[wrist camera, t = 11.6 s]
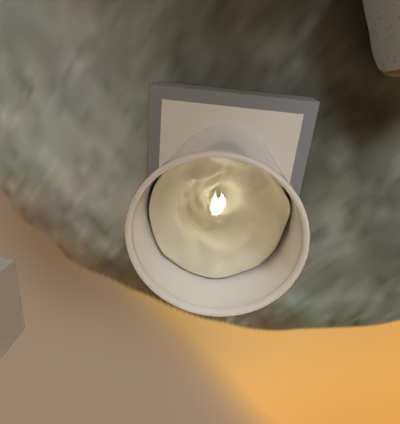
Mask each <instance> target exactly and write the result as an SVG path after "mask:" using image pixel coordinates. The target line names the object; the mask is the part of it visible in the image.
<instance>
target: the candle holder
mask: <svg viewBox="0 0 400 424" xmlns="http://www.w3.org/2000/svg"><path fill="white" fill-rule="evenodd" d="M125 241H126V247H127V251H128V254H129V257H130V260H131V262H132V265H133V267H134V268H135V270H136V272H137V273H138V275H139V276H140V278H141V279H142V280H143V282H144V283H145V284H146V285H147V286H148V287H149V288H150V289H151V290H152V291H153V292H154V293H155V294H156V295H158V296H159V297H160V298H162V299H163V300H165V301H166V302H168V303H170V304H172V305H174V306H176V307H178V308H180V309H182V310H185V311H188V312H191V313H195V314H199V315H205V316H214V317H227V316H236V315H242V314H246V313H249V312H253V311H255V310H258V309H260V308H263V307H265V306H267V305H268V304H270V303H272V302H273V301H275V300H276V299H278V298H279V297H280V296H282V295H283V294H284V293H285V292H286V291H287V290H288V289H289V288H290V287H291V286H292V285H293V283H294V282H295V281H296V279H297V278H298V276H299V275H300V273H301V271H302V269H303V267H304V265H305V262H306V259H307V256H308V251H309V245H310V228H309V222H308V218H307V214H306V211H305V208H304V206H303V204H302V202H301V200H300V198H299V196H298V195H297V193H296V191H295V190H294V189H293V187H292V186H291V185H290V184H289V183H288V181H287V179H286V178H285V176H284V174H283V173H282V171H281V169H280V168H279V166H278V164H277V162H276V161H275V159H274V158H273V156H272V154H271V153H270V151H269V150H268V148H267V147H266V146H265V144H264V143H263V142H262V141H261V140H260V139H259V138H258V137H257V136H255V135H254V134H252V133H251V132H249V131H247V130H245V129H243V128H240V127H236V126H230V125H218V126H212V127H208V128H205V129H203V130H201V131H199V132H197V133H196V134H194V135H193V136H191V137H190V138H189V139H188V140H187V141H185V142H184V143H183V144H182V145H181V146H180V147H179V148H178V149H177V150H176V151H175V152H174V153H173V154H172V155H171V156H170V157H169V158H168V159H167V160H166V161H165V163H164V164H163V165H162V166H161V167H159V168H158V169H157V170H155V171H154V172H153V173H152V174H151V175H150V176H149V177H148V178H147V179H146V180H145V181H144V182H143V183H142V184H141V186H140V187H139V188H138V190H137V191H136V193H135V195H134V197H133V199H132V201H131V203H130V206H129V208H128V212H127V216H126V222H125Z"/></svg>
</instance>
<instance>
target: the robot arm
mask: <svg viewBox="0 0 400 424" xmlns="http://www.w3.org/2000/svg"><path fill="white" fill-rule="evenodd" d="M24 328H25V325H24V318H23V312H22V305H21V298H20V292H19V285H18V279H17V272H16V265H15V260H14V259H7V258H0V359H1V358H2V356H3V355H4V354H5V353H6V351H7V350H8V349H9V347H10V346H11V345H12V343H13V342H14V341H15V340H16V338H17V337H18V336H19V334H20V333H21V332H22V331H23V329H24Z"/></svg>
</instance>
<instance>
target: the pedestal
mask: <svg viewBox="0 0 400 424" xmlns="http://www.w3.org/2000/svg"><path fill="white" fill-rule="evenodd" d="M319 104H320V102H319V101H317V100H315V99H314V98H312V97H304V96H295V95H285V94H276V93H266V92H257V91H247V90H238V89H228V88H218V87H209V86H199V85H190V84H180V83H171V82H161V81H159V82H155V83H152V84H150V97H149V129H148V161H147V178H148V177H149V176H150V175H151V174H152V173H153V172H154V171H155V170H157V169H158V168H159V167H161V166H162V165H163V164H164V163H165V161H166V160H167V159H168V158H169V157H170V156H171V155H172V154H173V153H174V152H175V151H176V150H177V149H178V148H179V147H180V146H181V145H182V144H183V143H184V142H185V141H187V140H188V139H189V138H190V137H191V136H193V135H194V134H196V133H197V132H199V131H201V130H203V129H205V128H208V127H212V126H218V125H230V126H236V127H240V128H243V129H245V130H247V131H249V132H251V133H252V134H254V135H255V136H257V137H258V138H259V139H260V140H261V141H262V142H263V143H264V144H265V146H266V147H267V148H268V150H269V151H270V153H271V154H272V156H273V158H274V159H275V161H276V162H277V164H278V166H279V168H280V169H281V171H282V173H283V174H284V176H285V178H286V179H287V181H288V183H289V184H290V185H291V186H292V187H293V189H294V190H295V191H296V193H297V195H298V196H299V195H300V190H301V186H302V181H303V177H304V172H305V168H306V163H307V159H308V154H309V150H310V145H311V141H312V136H313V131H314V127H315V122H316V118H317V113H318V109H319Z"/></svg>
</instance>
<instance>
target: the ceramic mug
mask: <svg viewBox="0 0 400 424" xmlns="http://www.w3.org/2000/svg"><path fill="white" fill-rule="evenodd" d="M362 1H363V7H364V13H365V17H366V21H367V26H368V30H369V37H370V43H371V49H372V53H373V57H374V59H375V62H376V64H377V67H378V69H379V70H380V72H381V73H383V74H385V75H387V76H391V77H400V0H362Z"/></svg>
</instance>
